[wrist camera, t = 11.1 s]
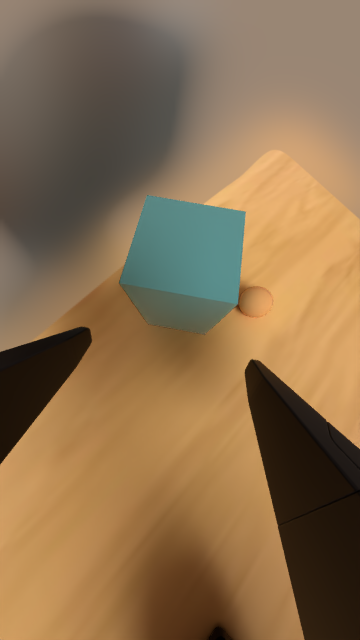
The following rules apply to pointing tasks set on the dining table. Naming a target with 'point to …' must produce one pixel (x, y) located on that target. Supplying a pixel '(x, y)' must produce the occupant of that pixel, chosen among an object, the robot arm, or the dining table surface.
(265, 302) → the orange small ball
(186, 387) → the dining table surface
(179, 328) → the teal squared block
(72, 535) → the dining table surface
